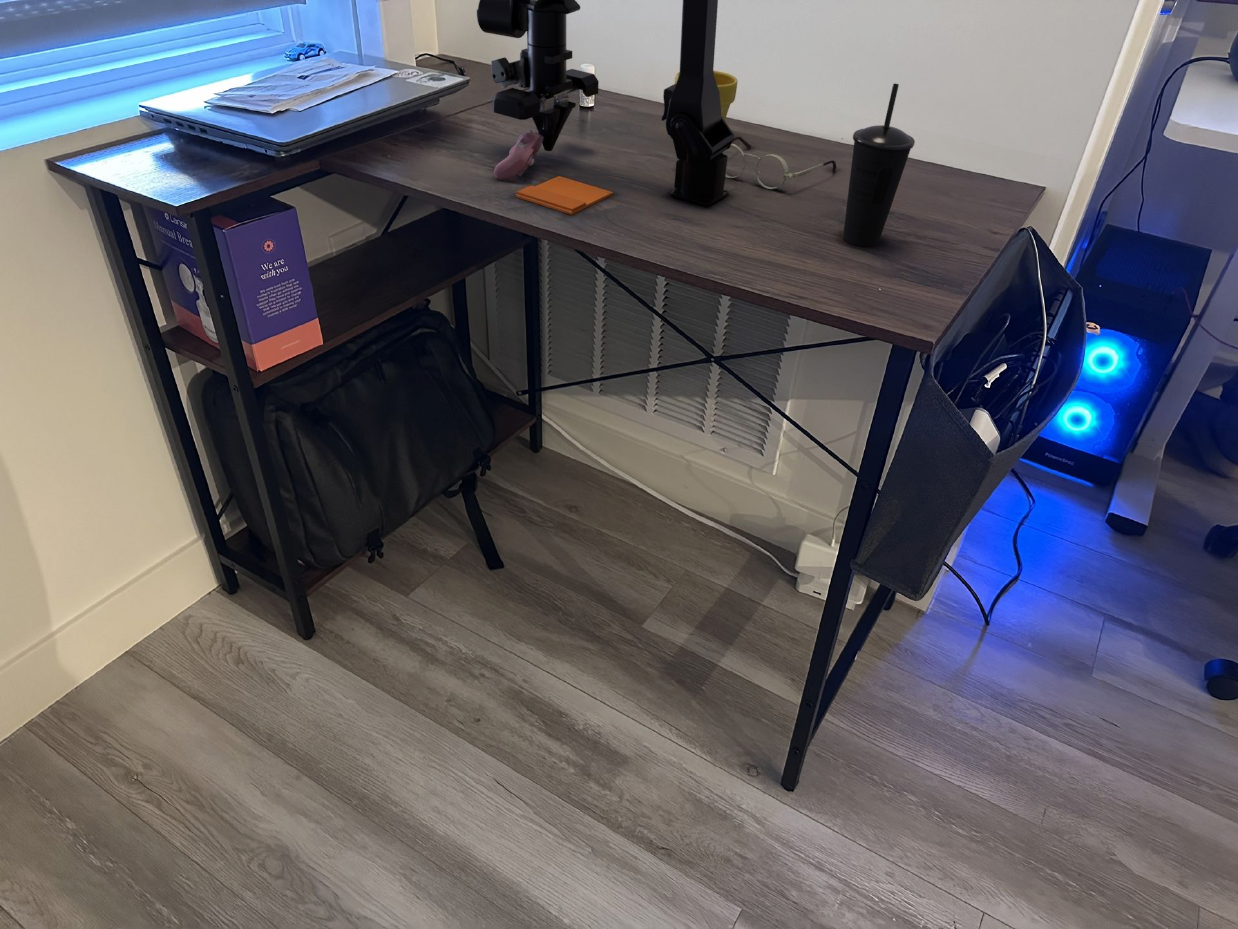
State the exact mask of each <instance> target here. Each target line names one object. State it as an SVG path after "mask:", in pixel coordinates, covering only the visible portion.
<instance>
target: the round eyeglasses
mask: <svg viewBox="0 0 1238 929" xmlns="http://www.w3.org/2000/svg"><path fill="white" fill-rule="evenodd" d="M738 140H739V141H740V142H741V143H742V144H743V145H744V146H745V147H746V149H749V150H750V149H751V148H752V145H751V144H750V143H749V142H747V141H746V140H745V139H743V138H742V137H741V136H735V138H734V140H733V142H736V141H738ZM730 147H733V148H735V149H736V150H738V151H739V153H740V154H741V157H742V161H743V166H742V169H741V171H740V173H739V174H737V175H735V176H731V175H729V174H728V173H726V175H725V178H726V179H727V178H728V179H735V178H738V177H739V176H741V175H742V174H743V172H744V171H745V168H746V164H747V158H746V156H749V157H751V158H756V159H757V160H756V162H755V164H754V167H755V168H754V173H755V179H756V180H757V182H758V184H759V185H760V186H761V187H763V188H764V189H767V190H775V189H777V188H778V189H781V188H782V186H783V185H784V184H785V182H786V181H787V179H788V180H793V179H796V178H799V177H801V176H803V175H806V174H809V173H811V172H814V171H817V170H818V169H820V168H823V167H824V166H827V165H830V164H832V171H833V172H834V171H835V170H837V164H836V163H837V162H836V161H835V160H828V161H827V162H824V163H823V162H821V163H820V164H817V165H814V166H811V167H809V168H807V169H803V170H801V171H799V172H794V173H792V172H791V173H788V172H789V166H788V163H787V162H786V160H785V159H784V158H783V157H781V156H780V155H777V154H772V153H771V154H766V155H763V156H762V157H761V158H760V157H759V156H758V155H756V154H751V153H748V152H747V153H744V152H743V150H742V149H741V148H740V147H739V146H738V145H737V144H735V143H732V144H731V146H730ZM765 157H773V158H775V159H777V160H778V162H779V163H780V164H781V166H782V168H783V179H782V181H781V183H780V184H779V185H777V186H773V187H770V186H768V185H765V184H764V183H763V182H762V181H761V180H760V178H759V175H758V174H760V170H758V168H759V164H760V162H761V161H762V160H763V159H764V158H765ZM787 173H788V174H787Z"/></svg>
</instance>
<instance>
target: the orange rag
mask: <svg viewBox="0 0 1238 929" xmlns="http://www.w3.org/2000/svg"><path fill="white" fill-rule="evenodd" d="M613 195H614V192H613V191H611V190H608V189H603V188H600V187H597V186H594V185H591V184H587V183H584V182H580V181H577V180H573V179H571V178H568V177H563V176H561V175H558V176H556V177H553V178H551V179H549V180H547V181H544V182H542V183H539V184H537V185H535V186H534V185H528V186H526V187H524V188H521V189H519V190H517V191H516V194H515V198H517V199H521V200H524V201H527V202H530V203H532V204H537V205H539V206H543V207H546V208H548V209H552V210H555V211H558V212H561V213H564V214H567V215H571V216H572V215H574V214H576V213H578V212H580V211H582V210H584V209H587V208H589V207H591V206H593V205H595V204H597V203H599V202H601V201H602V200H604V199H607V198H608V197H612V196H613Z"/></svg>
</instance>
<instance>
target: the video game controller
mask: <svg viewBox="0 0 1238 929" xmlns="http://www.w3.org/2000/svg"><path fill="white" fill-rule="evenodd" d="M543 139H544V137H543V136H541V134H539V133H538V131H535V132H534V131H533V130H532V129H530V131H527V132H523V133H522V134H520V135H519V136H518V138H517V142H516V144H514V145H513V146H512V147H511V148H510V149H509V153H508V156H506V157H505V158H504V159H502V160H501V161H500V162H499V163H497V164H496V165H495V167H494V169H493V176H494V178H496V179H497V180H500V181H504V180H509V179H512V178H513V177H514V176H516V175H518V176H519V177H522V176H523V174H524V173H525V171H526V170H527V169H528V168H529V167H531V166H533V164H534V163H535V156H536V154H537V153H538V152H539V151H540V149H541V148H542V145H543V144H542V141H543Z"/></svg>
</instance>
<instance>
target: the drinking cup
mask: <svg viewBox="0 0 1238 929" xmlns="http://www.w3.org/2000/svg"><path fill="white" fill-rule="evenodd" d="M899 86H900V85H899V83H893V85H892V88H891V92H890V96H889V101H888V106H887V111H886V114H885V119H884V124H882V125H881V124H880V125H879V124H877V125H871V126H867V127H864V128H860V129H858V130H856V131H854V132H853V134H852V140H853V150H852V158H851V167H850V176H849V184H848V193H847V201H846V209H845V215H844V216H845V217H844V226H843V234H842V238H843V240H844V241H845V242H847V243H848V244H850V245H854V246H858V247H862V248H863V247H864V248H865V247H869V248H870V247H874V246H877V245H879V243H880V241H881V238H882V234H883V232H884V229H885V225H886V224H887V219H888V216H889V214H890V211H891V208H892V206H893V202H894V199H895V196H896V193H897V191H898V188H899V185H900V181H901V179H902V177H903V173H904V170H905V168H906V164H907V161H908V158H909V155H910V153H911V150H912V149H913V148H914V146H915V144H916V141H915V138H914V137H913V136H911V135H909V134H908V133H906V132H905V131H903V130H901V129H900V128H897V127H896V126H895V127H894V126H890V125H891V122H892V117H893V112H894V107H895V103H896V99H897V95H898V91H899Z"/></svg>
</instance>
